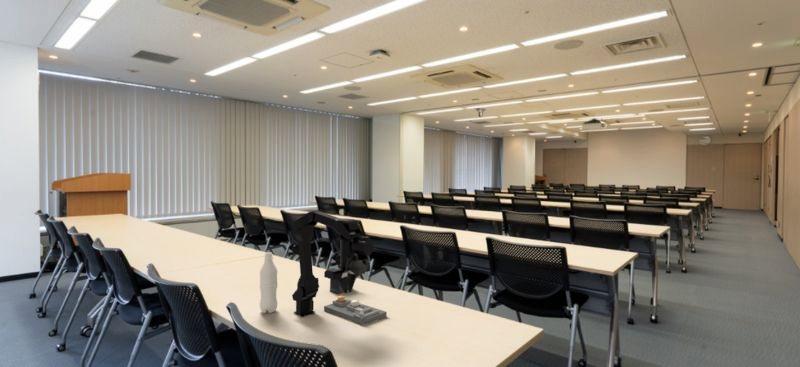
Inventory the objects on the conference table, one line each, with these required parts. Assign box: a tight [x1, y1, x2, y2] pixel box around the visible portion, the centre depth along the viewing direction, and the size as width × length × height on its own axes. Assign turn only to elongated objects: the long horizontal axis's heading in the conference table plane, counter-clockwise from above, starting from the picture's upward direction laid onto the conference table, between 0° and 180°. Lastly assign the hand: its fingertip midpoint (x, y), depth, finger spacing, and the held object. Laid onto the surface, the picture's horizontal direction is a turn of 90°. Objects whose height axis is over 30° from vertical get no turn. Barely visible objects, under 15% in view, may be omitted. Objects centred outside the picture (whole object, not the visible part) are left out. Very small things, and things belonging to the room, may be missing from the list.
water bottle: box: [259, 251, 278, 314], centre depth 170 cm, size 7×7×25 cm
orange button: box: [336, 295, 346, 303], centre depth 174 cm, size 3×3×2 cm
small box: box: [329, 268, 354, 294], centre depth 201 cm, size 11×6×10 cm, turn 143°
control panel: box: [323, 298, 387, 326], centre depth 168 cm, size 13×24×4 cm, turn 48°
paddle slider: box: [355, 307, 364, 318], centre depth 159 cm, size 2×3×3 cm, turn 48°
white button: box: [351, 299, 360, 307], centre depth 168 cm, size 3×3×2 cm
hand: (347, 292), depth 154 cm, fingers closed
